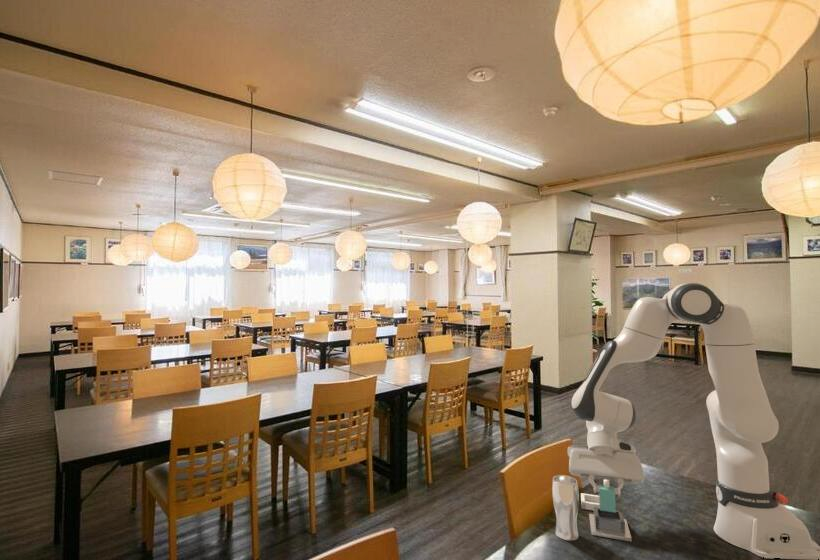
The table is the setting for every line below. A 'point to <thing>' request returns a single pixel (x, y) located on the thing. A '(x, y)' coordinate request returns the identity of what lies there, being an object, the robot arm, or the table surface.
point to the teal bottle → (607, 497)
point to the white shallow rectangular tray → (589, 501)
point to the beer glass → (566, 506)
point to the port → (609, 525)
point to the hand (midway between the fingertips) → (607, 494)
